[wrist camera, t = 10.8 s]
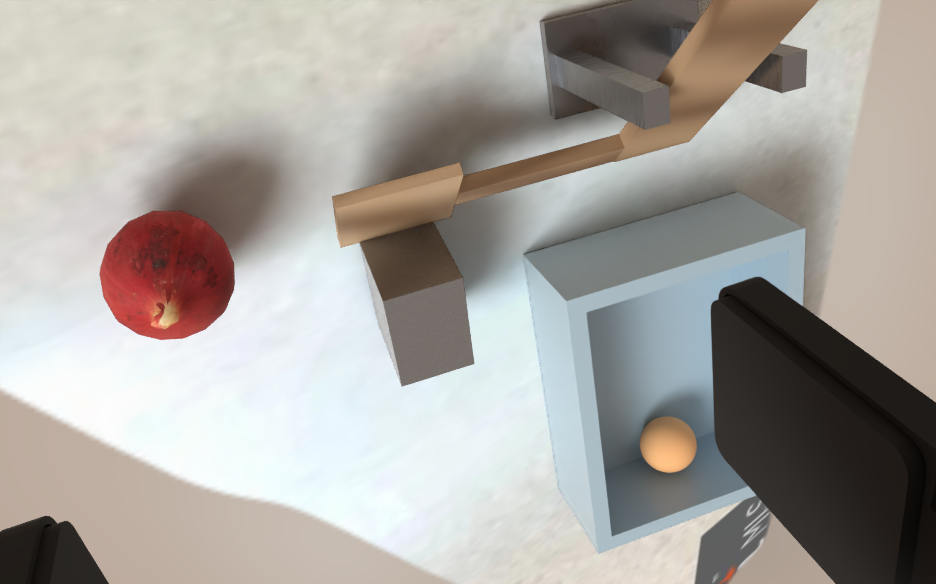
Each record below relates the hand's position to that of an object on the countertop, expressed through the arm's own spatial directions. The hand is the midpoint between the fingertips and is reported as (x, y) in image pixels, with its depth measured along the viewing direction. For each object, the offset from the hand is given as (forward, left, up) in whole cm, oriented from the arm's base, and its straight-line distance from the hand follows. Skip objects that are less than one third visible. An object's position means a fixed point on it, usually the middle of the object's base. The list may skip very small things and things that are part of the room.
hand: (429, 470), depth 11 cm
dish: (+22, +18, -31) cm, 42 cm away
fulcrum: (+3, +18, -31) cm, 36 cm away
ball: (+28, +18, -28) cm, 44 cm away
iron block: (+10, +4, -27) cm, 29 cm away
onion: (+7, -7, -31) cm, 33 cm away
